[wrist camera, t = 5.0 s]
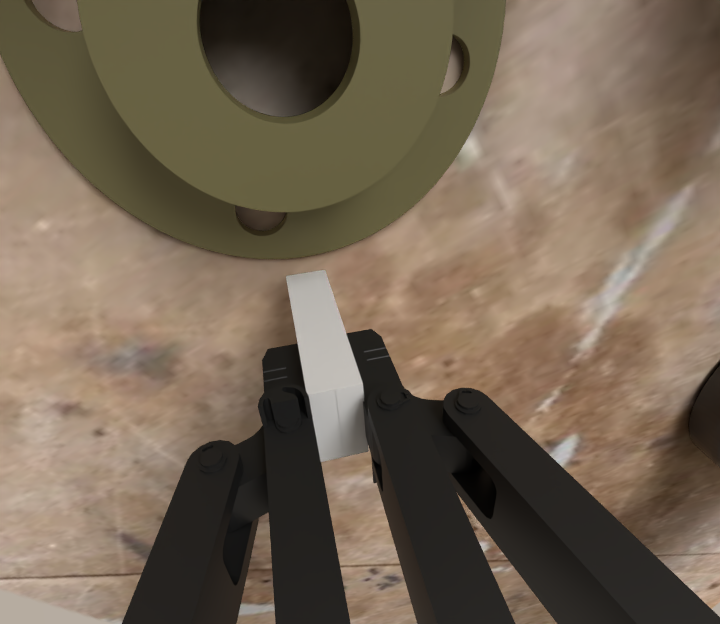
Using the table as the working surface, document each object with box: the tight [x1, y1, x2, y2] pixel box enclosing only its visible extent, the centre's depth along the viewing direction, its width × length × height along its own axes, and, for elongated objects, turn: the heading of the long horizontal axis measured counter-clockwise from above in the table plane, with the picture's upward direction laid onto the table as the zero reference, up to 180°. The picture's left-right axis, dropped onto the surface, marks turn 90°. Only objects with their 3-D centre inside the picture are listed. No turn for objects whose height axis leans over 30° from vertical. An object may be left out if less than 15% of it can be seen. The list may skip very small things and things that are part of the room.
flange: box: [0, 0, 506, 259], centre depth 12 cm, size 5×15×15 cm
